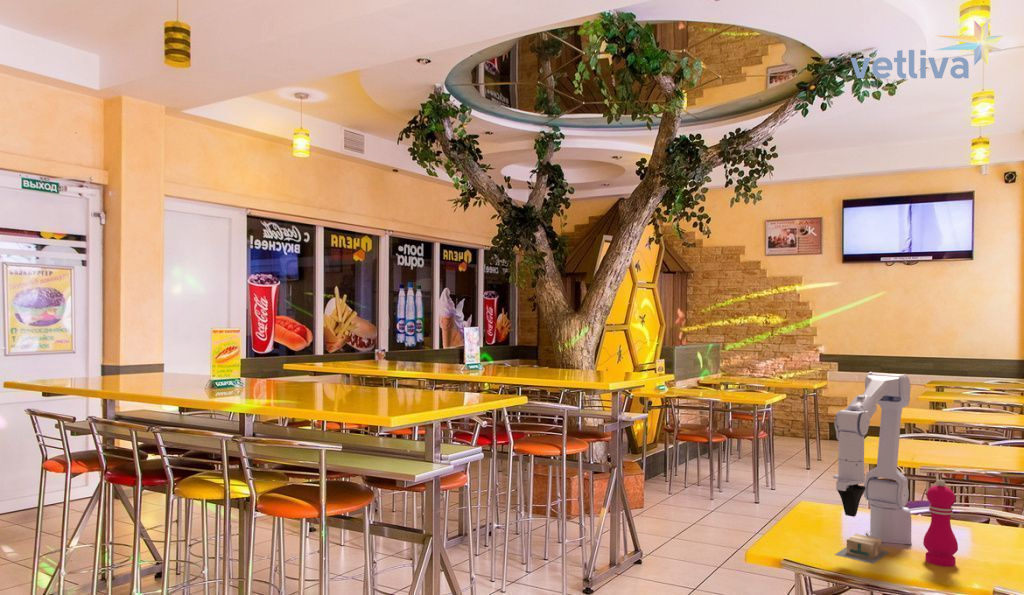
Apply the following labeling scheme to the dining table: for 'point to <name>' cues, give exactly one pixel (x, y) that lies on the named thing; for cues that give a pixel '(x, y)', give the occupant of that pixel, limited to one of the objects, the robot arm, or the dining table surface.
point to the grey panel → (861, 558)
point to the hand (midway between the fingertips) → (850, 515)
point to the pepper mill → (940, 527)
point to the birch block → (864, 546)
